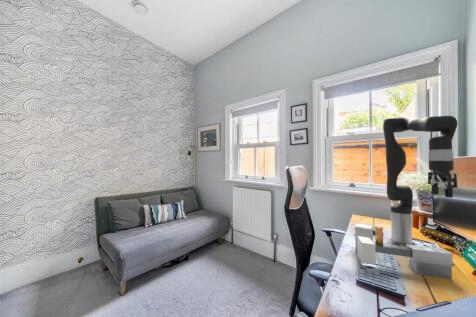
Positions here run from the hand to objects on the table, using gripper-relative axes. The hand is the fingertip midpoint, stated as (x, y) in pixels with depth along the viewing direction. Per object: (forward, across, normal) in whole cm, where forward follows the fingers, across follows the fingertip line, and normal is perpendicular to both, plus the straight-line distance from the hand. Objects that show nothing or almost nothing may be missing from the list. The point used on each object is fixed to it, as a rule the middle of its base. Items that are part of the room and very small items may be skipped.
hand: (441, 195), depth 81 cm
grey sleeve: (+32, +7, -9) cm, 34 cm away
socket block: (+32, +7, -31) cm, 45 cm away
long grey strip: (+26, +7, -21) cm, 34 cm away
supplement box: (+32, -8, -28) cm, 43 cm away
